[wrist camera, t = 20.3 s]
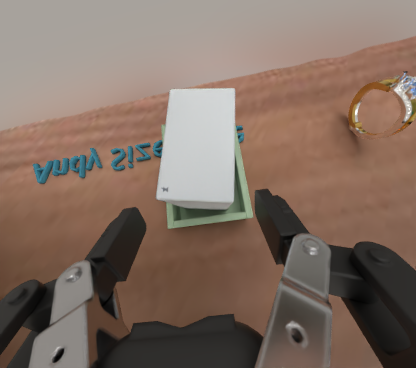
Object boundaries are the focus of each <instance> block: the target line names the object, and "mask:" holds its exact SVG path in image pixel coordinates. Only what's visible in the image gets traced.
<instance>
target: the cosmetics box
mask: <svg viewBox="0 0 416 368" xmlns="http://www.w3.org/2000/svg"><path fill="white" fill-rule="evenodd" d="M234 180H235V89H234V88H205V89H171V90H170V92H169V101H168V109H167V117H166V125H165V133H164V141H163V149H162V156H161V164H160V171H159V178H158V185H157V192H156V199H157V200H160V201H165V202H168V203H171V204H173V205H177V206H180V207H183V208H185V209H200V210H222V211H226V210H227V209H228V208H229V206H230V205H231V204H232V203H233V202H234Z"/></svg>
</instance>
